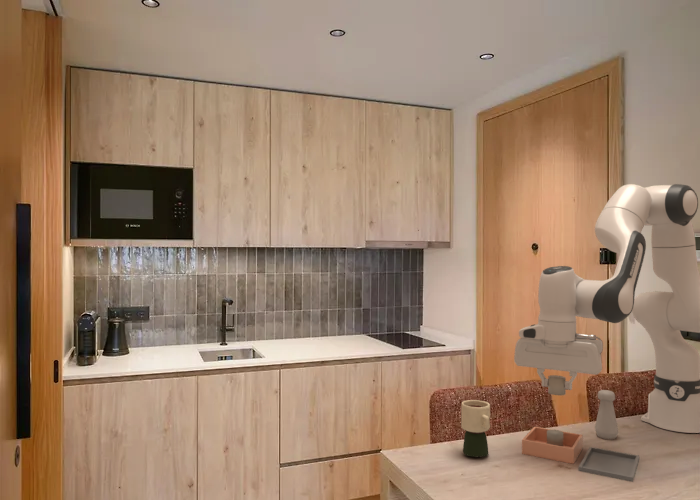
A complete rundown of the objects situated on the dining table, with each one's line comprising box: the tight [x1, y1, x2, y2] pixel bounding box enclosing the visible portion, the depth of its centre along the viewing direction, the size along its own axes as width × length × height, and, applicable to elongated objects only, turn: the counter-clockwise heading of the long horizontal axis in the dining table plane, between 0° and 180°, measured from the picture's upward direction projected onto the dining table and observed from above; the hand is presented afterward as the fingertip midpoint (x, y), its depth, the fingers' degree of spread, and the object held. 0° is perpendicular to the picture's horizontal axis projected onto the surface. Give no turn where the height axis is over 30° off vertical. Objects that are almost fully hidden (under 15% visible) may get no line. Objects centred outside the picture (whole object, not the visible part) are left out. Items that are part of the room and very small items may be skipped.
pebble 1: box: [547, 374, 567, 396], centre depth 135 cm, size 4×4×4 cm
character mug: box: [460, 399, 491, 458], centre depth 137 cm, size 11×7×13 cm, turn 20°
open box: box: [521, 426, 584, 465], centre depth 139 cm, size 12×12×4 cm
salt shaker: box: [594, 389, 619, 440], centre depth 149 cm, size 6×6×13 cm
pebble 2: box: [547, 429, 563, 446], centre depth 141 cm, size 4×4×4 cm
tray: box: [578, 446, 640, 483], centre depth 130 cm, size 15×11×1 cm
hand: (556, 387), depth 135 cm, fingers closed on pebble 1, 4 cm apart
